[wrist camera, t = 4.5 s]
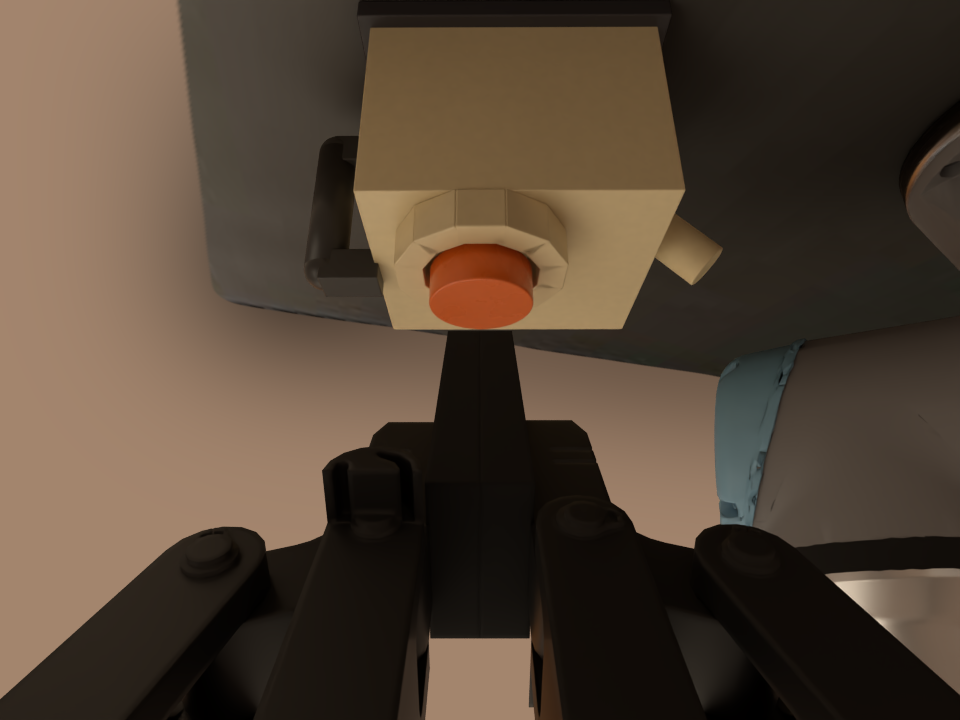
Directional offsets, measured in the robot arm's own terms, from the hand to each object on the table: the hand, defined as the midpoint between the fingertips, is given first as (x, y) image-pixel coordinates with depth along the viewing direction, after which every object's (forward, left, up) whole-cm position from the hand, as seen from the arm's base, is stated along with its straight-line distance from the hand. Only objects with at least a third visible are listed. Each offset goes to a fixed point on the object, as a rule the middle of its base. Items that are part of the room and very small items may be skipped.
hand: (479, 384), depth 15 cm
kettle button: (-6, +6, -9) cm, 13 cm away
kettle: (-9, +7, -21) cm, 24 cm away
